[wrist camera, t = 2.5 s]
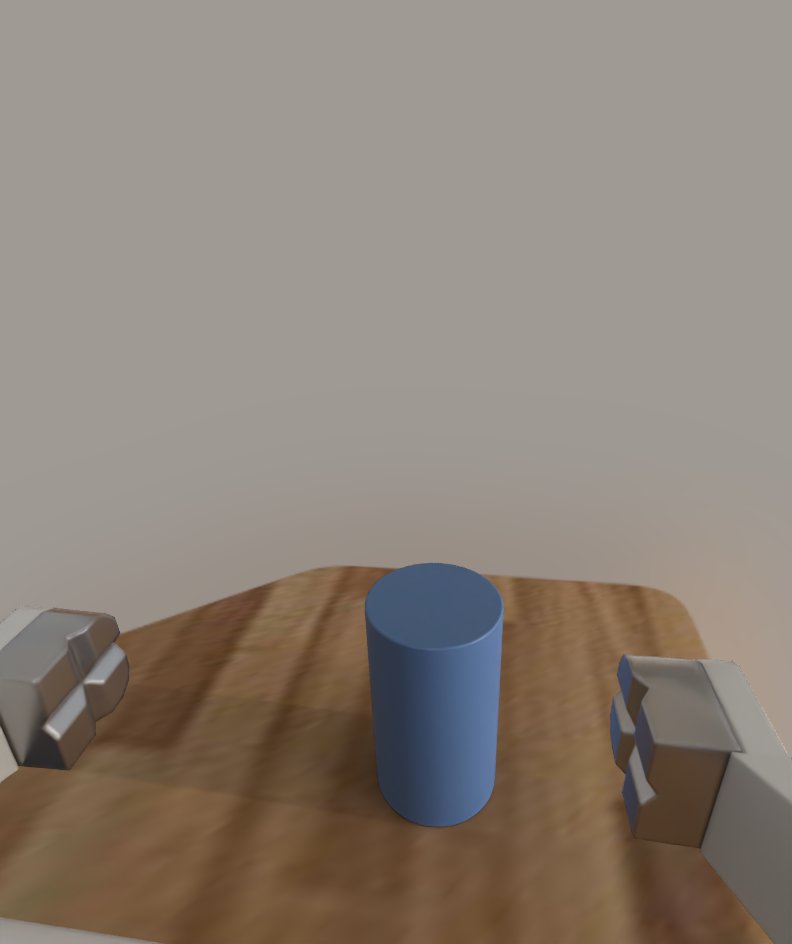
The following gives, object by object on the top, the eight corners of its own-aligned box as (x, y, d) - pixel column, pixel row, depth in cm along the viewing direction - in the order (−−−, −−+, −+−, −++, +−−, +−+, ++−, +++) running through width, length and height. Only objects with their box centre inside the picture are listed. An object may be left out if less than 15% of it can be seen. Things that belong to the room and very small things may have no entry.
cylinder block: (494, 727, 30) (501, 565, 26) (495, 835, 25) (505, 654, 21) (386, 718, 31) (377, 559, 26) (367, 820, 26) (351, 644, 21)
